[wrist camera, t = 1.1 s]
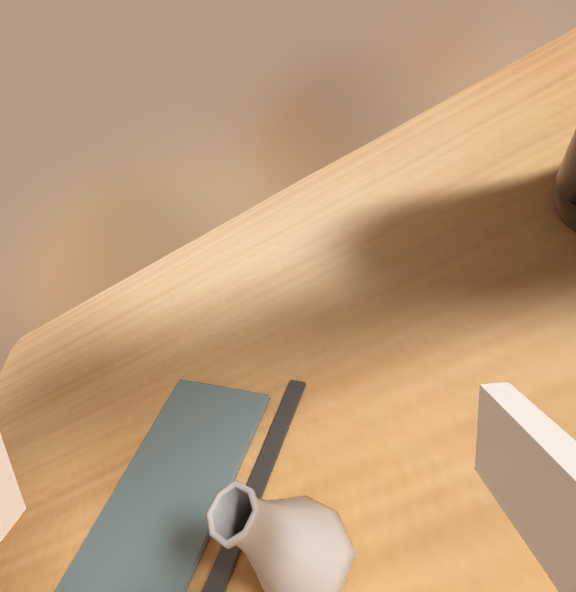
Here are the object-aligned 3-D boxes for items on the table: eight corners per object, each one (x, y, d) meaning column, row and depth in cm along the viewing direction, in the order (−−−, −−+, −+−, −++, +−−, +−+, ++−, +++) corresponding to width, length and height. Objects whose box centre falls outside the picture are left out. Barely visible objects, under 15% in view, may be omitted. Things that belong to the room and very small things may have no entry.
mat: (182, 381, 46) (179, 379, 46) (270, 397, 38) (268, 394, 38) (19, 660, 32) (13, 660, 32) (107, 770, 25) (101, 771, 24)
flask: (302, 652, 24) (211, 634, 18) (243, 556, 30) (158, 517, 23) (376, 552, 26) (316, 504, 20) (307, 479, 31) (244, 423, 25)
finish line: (292, 381, 38) (290, 380, 38) (306, 383, 38) (304, 382, 37) (102, 840, 22) (98, 841, 22) (118, 863, 22) (114, 864, 21)
